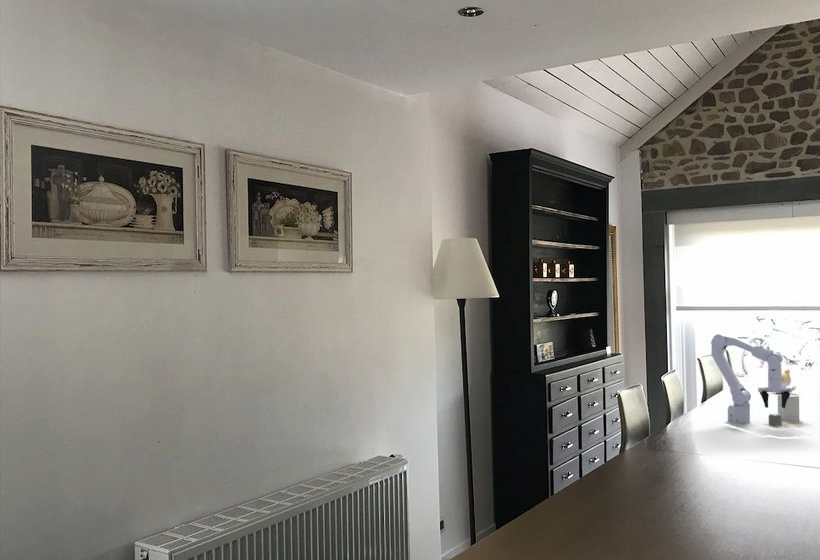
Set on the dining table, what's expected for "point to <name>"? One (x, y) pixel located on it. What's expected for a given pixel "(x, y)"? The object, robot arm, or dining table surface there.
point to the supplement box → (789, 408)
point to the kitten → (786, 380)
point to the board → (784, 425)
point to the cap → (775, 419)
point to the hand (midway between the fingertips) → (774, 407)
